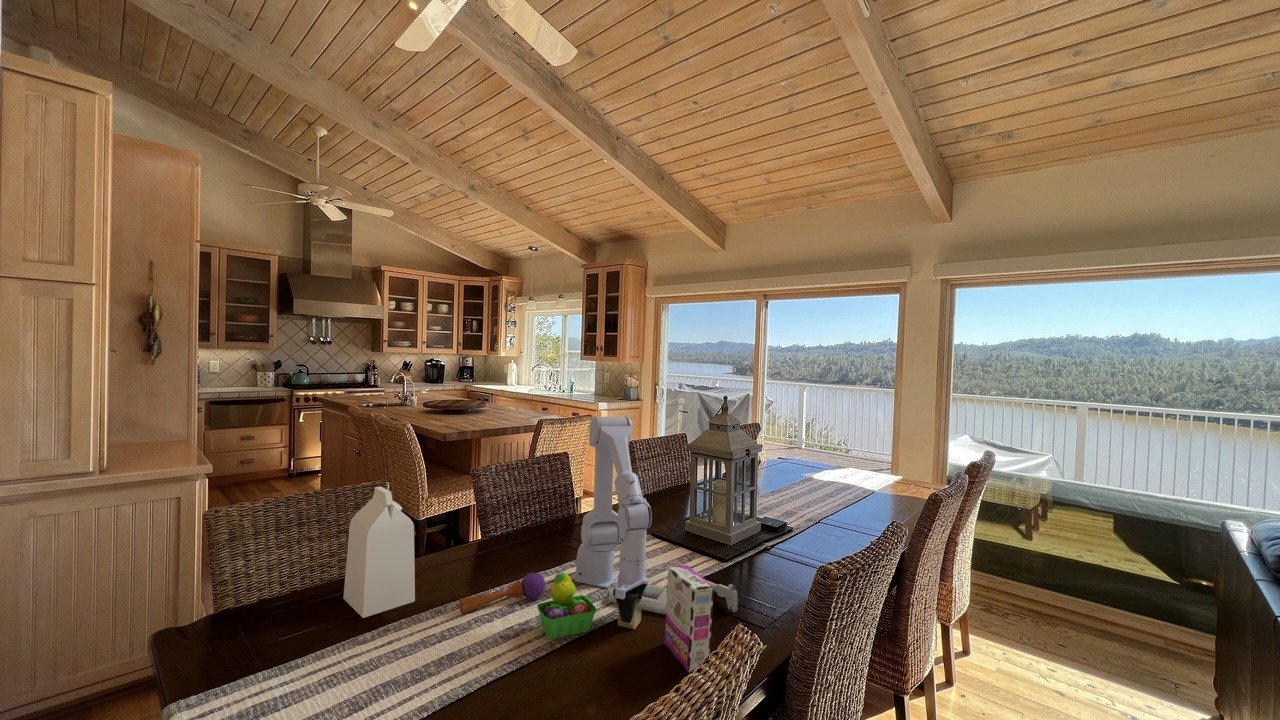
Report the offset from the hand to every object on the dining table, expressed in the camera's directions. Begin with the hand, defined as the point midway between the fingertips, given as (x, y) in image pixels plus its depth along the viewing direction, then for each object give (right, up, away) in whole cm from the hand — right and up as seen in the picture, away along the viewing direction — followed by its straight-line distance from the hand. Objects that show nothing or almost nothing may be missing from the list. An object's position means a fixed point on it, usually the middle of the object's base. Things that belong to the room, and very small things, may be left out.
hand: (629, 616), depth 120 cm
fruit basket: (-14, -1, -3) cm, 15 cm away
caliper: (+20, -2, +16) cm, 26 cm away
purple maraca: (-30, 0, +6) cm, 31 cm away
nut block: (0, -1, 0) cm, 1 cm away
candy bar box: (+12, -3, -12) cm, 17 cm away
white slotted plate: (+5, -1, +10) cm, 11 cm away
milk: (-59, +1, +5) cm, 59 cm away
